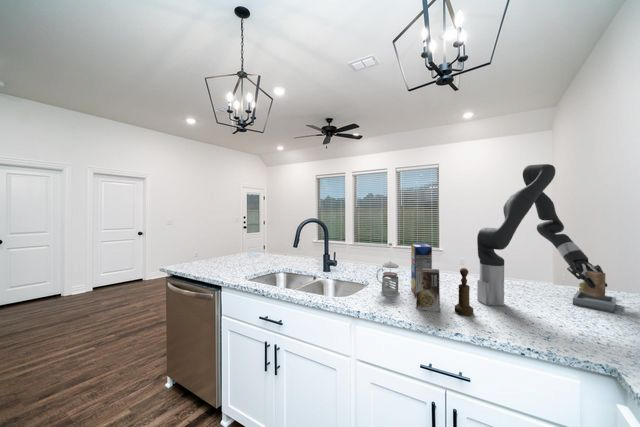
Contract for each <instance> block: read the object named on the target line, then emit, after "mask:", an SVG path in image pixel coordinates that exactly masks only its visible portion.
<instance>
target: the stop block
mask: <svg viewBox="0 0 640 427" xmlns="http://www.w3.org/2000/svg"><path fill="white" fill-rule="evenodd" d="M586 272H587V275H588V276H589V278H590V279H591V280H592V281H593V282H594V284H595V285H596V287H594V288H590V287H589V286H588V285H587V283H586V282H585V281H584V294H587V295H591V296H594V297H605V296H606V287H605V282H606V272H605V273H604V272H603V273H601V272H597V271H586Z"/></svg>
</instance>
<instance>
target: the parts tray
mask: <svg viewBox="0 0 640 427" xmlns="http://www.w3.org/2000/svg"><path fill="white" fill-rule="evenodd" d="M616 305H617V298H616V296H611V295H605V297H594V296H591V295H587V294H584V292H581V291H579V290H577V291H576V292H575V294H574V296H573V297H572V306H577V307H582V308H587V309H593V310H597V311H603V312H608V313H613V314H615V310H616Z"/></svg>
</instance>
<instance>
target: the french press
mask: <svg viewBox="0 0 640 427" xmlns="http://www.w3.org/2000/svg"><path fill="white" fill-rule="evenodd" d="M388 246H389V247H391V246H393V244H392V242H390V243H388ZM382 267H383V268H387V269H397V268H399V265H398V264H397V263H395V262H391V261H388V262H386V263H385V262H384V263H383V264H381V268H379V269H378V270H377V271H376V276H375V277H376V280H377V282H379V283H380V284H381V290H380V294H381V295H382V296H387V297H398V296H400V295H401V292H400V291H399V276H398V273H397V272H393V271H385V272H384V269H383V268H382ZM380 271H381V272H383V273H382V274H383V275H382V278H381V279H382V281H380V280H379V278H378V277H379V272H380Z"/></svg>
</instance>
